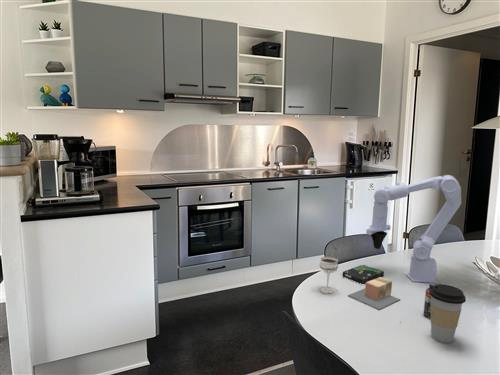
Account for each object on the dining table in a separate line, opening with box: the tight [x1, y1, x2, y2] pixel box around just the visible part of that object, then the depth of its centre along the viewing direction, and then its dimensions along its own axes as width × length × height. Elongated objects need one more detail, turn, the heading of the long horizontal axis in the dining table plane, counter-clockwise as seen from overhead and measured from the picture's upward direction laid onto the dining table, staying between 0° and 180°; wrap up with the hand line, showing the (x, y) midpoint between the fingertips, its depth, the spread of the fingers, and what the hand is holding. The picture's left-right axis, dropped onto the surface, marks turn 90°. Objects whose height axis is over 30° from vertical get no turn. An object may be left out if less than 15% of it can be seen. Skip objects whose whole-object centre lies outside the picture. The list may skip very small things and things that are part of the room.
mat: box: [347, 287, 401, 311], centre depth 136 cm, size 13×13×1 cm
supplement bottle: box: [423, 281, 442, 320], centre depth 123 cm, size 6×6×11 cm
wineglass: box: [319, 256, 339, 294], centre depth 141 cm, size 7×7×12 cm
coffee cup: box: [429, 283, 466, 344], centre depth 110 cm, size 9×9×15 cm
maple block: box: [364, 277, 393, 301], centre depth 138 cm, size 5×5×9 cm
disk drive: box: [341, 264, 385, 285], centre depth 156 cm, size 10×3×15 cm
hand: (377, 248), depth 160 cm, fingers closed
